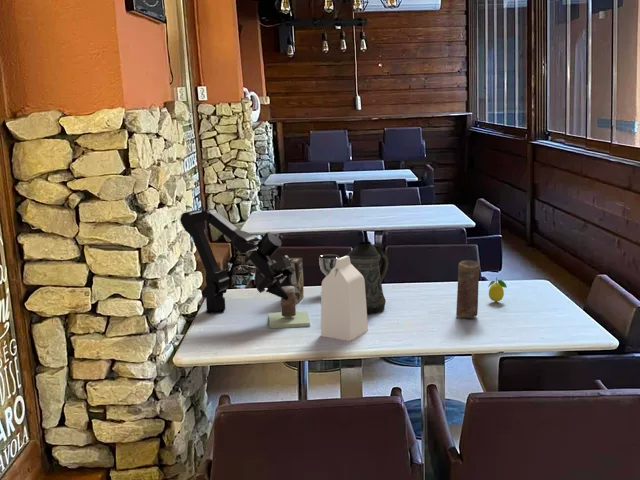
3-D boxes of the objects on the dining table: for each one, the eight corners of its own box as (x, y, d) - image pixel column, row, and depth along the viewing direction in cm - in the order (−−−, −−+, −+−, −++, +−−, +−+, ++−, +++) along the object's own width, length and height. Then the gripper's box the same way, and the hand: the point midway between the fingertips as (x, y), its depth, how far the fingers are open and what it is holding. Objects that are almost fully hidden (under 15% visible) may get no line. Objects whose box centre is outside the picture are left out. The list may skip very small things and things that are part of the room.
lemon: (506, 305, 267) (507, 279, 265) (490, 305, 267) (491, 279, 265) (502, 300, 273) (502, 274, 271) (486, 300, 274) (487, 275, 272)
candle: (480, 315, 255) (481, 261, 251) (475, 321, 248) (476, 265, 244) (459, 313, 258) (459, 259, 254) (453, 319, 252) (454, 264, 248)
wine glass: (319, 290, 293) (318, 254, 290) (338, 289, 294) (337, 254, 291) (320, 295, 286) (319, 259, 283) (340, 294, 286) (339, 258, 283)
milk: (350, 341, 232) (349, 263, 227) (320, 335, 238) (318, 259, 233) (368, 330, 242) (367, 255, 237) (338, 325, 248) (337, 252, 243)
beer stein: (335, 312, 263) (333, 246, 258) (352, 298, 280) (351, 236, 275) (378, 317, 256) (377, 249, 251) (393, 302, 274) (393, 238, 269)
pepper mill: (287, 317, 250) (286, 290, 248) (278, 314, 254) (278, 287, 252) (298, 314, 253) (297, 287, 251) (290, 311, 257) (289, 284, 255)
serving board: (269, 328, 247) (269, 324, 247) (269, 316, 261) (268, 313, 260) (310, 326, 248) (309, 322, 248) (307, 314, 262) (307, 311, 261)
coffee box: (299, 303, 276) (297, 262, 273) (283, 302, 277) (281, 262, 274) (304, 296, 285) (303, 257, 281) (288, 296, 286) (287, 257, 283)
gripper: (262, 255, 243) (292, 289, 240) (289, 244, 259) (317, 277, 256) (244, 275, 248) (272, 309, 245) (272, 263, 264) (299, 295, 261)
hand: (291, 297), depth 252 cm, fingers closed on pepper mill, 5 cm apart
